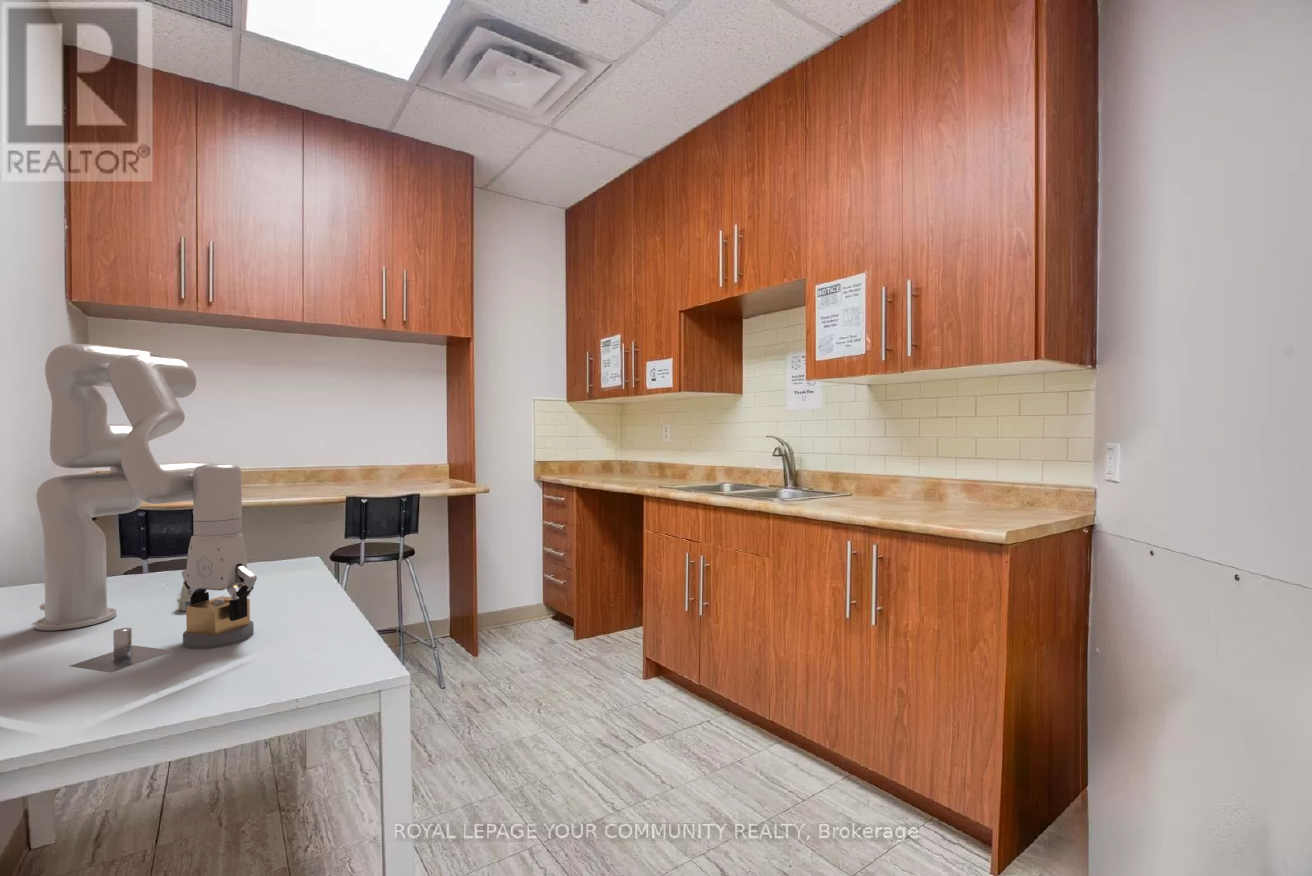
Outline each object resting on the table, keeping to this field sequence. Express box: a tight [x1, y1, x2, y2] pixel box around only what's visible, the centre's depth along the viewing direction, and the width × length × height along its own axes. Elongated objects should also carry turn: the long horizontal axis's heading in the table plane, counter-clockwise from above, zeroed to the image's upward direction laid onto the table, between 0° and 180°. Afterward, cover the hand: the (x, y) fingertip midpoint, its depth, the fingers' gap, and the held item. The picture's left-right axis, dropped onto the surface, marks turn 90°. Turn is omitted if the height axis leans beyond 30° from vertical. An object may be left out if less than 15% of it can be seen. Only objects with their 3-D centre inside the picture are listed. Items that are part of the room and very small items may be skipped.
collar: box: [185, 595, 251, 636], centre depth 115 cm, size 7×7×5 cm
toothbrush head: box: [176, 580, 190, 612], centre depth 145 cm, size 5×7×25 cm
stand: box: [69, 627, 174, 673], centre depth 105 cm, size 10×10×6 cm
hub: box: [182, 599, 255, 650], centre depth 115 cm, size 11×11×8 cm
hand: (219, 616), depth 115 cm, fingers open, 9 cm apart
